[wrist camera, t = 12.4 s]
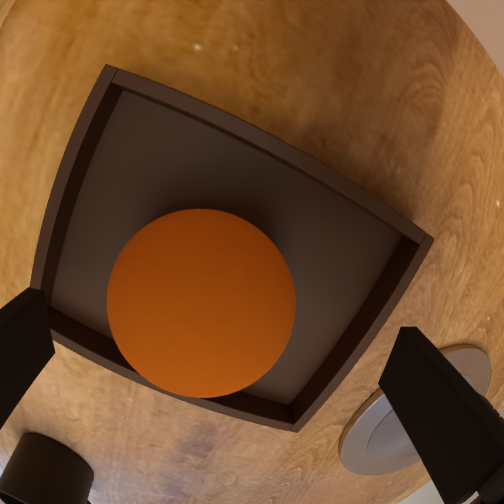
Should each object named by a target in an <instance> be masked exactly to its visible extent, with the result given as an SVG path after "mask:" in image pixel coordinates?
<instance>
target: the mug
mask: <svg viewBox="0 0 504 504" xmlns="http://www.w3.org/2000/svg"><path fill="white" fill-rule="evenodd" d="M92 482H93V473H92V470H91V469H90V467H89V466H88V465H87V464H86V463H85V462H84V461H83V460H82V459H81V458H80V457H79V456H77V455H76V454H75V453H73V452H72V451H70V450H69V449H68V448H66V447H64V446H63V445H61V444H59V443H57V442H56V441H53V440H51V439H49V438H47V437H44V436H41V435H38V434H33V433H29V434H25V435H24V436H22V437H21V439H20V441H19V443H18V445H17V446H16V448H15V450H14V452H13V454H12V456H11V458H10V460H9V462H8V464H7V465H6V467H5V469H4V471H3V473H2V475H1V478H0V499H1V500H2V501H3V502H4V503H5V504H91V503H90V502H89V501H88V500H87V499H88V496H89V492H90V489H91V486H92Z"/></svg>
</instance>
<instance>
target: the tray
mask: <svg viewBox="0 0 504 504" xmlns="http://www.w3.org/2000/svg"><path fill="white" fill-rule="evenodd" d="M188 209H213V210H218V211H224V212H227V213H230V214H233V215H236V216H238V217H240V218H242V219H244V220H246V221H248V222H249V223H251V224H252V225H254V226H255V227H257V228H258V229H259V230H261V231H262V232H263V233H264V234H265V235H266V236H267V237H268V238H269V239H270V240H271V241H272V242H273V243H274V244H275V246H276V247H277V249H278V250H279V252H280V253H281V255H282V256H283V258H284V260H285V262H286V264H287V266H288V268H289V270H290V273H291V276H292V280H293V284H294V290H295V297H296V312H295V320H294V325H293V329H292V332H291V336H290V339H289V341H288V343H287V345H286V347H285V349H284V351H283V352H282V354H281V356H280V357H279V359H278V360H277V362H276V363H275V364H274V365H273V366H272V367H271V369H270V370H269V371H267V372H266V373H265V374H264V375H263V376H262V377H261V378H259V379H258V380H257V381H255V382H254V383H252V384H251V385H249V386H247V387H245V388H243V389H241V390H239V391H236V392H233V393H230V394H227V395H223V396H218V397H210V398H195V397H188V396H182V395H178V394H174V393H172V392H169V391H166V390H164V389H162V388H160V387H157V386H156V385H154V384H152V383H151V382H149V381H148V380H147V379H145V378H144V377H143V376H141V375H140V374H139V373H138V372H137V371H136V370H135V369H134V368H133V367H132V366H131V365H130V364H129V363H128V361H127V360H126V359H125V357H124V356H123V355H122V353H121V352H120V350H119V348H118V346H117V344H116V342H115V340H114V337H113V335H112V332H111V329H110V325H109V321H108V315H107V289H108V283H109V279H110V275H111V272H112V269H113V267H114V264H115V262H116V260H117V258H118V256H119V254H120V253H121V251H122V250H123V248H124V247H125V245H126V244H127V243H128V242H129V241H130V240H131V238H132V237H133V236H134V235H135V234H136V233H137V232H138V231H140V230H141V229H142V228H143V227H145V226H146V225H148V224H149V223H151V222H153V221H155V220H156V219H158V218H160V217H162V216H165V215H167V214H170V213H173V212H177V211H181V210H188ZM433 242H434V238H433V237H431V236H430V235H429V234H427V233H426V232H425V231H424V230H422V229H421V228H420V227H418V226H417V225H415V224H414V223H413V222H411V221H410V220H409V219H407V218H406V217H405V216H403V215H402V214H400V213H399V212H397V211H396V210H395V209H393V208H392V207H390V206H389V205H387V204H386V203H385V202H383V201H382V200H380V199H379V198H377V197H376V196H374V195H373V194H371V193H370V192H368V191H367V190H365V189H364V188H362V187H361V186H359V185H357V184H356V183H354V182H353V181H351V180H350V179H348V178H346V177H345V176H343V175H342V174H340V173H338V172H337V171H335V170H334V169H332V168H330V167H329V166H327V165H325V164H324V163H322V162H320V161H319V160H317V159H315V158H313V157H312V156H310V155H308V154H306V153H305V152H303V151H301V150H299V149H298V148H296V147H294V146H292V145H290V144H289V143H287V142H285V141H283V140H281V139H279V138H278V137H276V136H274V135H272V134H270V133H268V132H266V131H264V130H262V129H260V128H258V127H256V126H254V125H252V124H250V123H248V122H246V121H244V120H242V119H240V118H238V117H236V116H234V115H232V114H230V113H228V112H226V111H224V110H221V109H219V108H217V107H215V106H213V105H211V104H208V103H206V102H204V101H202V100H199V99H197V98H195V97H192V96H190V95H188V94H185V93H183V92H181V91H178V90H176V89H173V88H171V87H168V86H166V85H163V84H161V83H158V82H155V81H153V80H150V79H148V78H145V77H142V76H139V75H137V74H134V73H131V72H128V71H125V70H122V69H119V68H117V67H114V66H111V65H108V64H106V65H105V66H104V68H103V70H102V72H101V73H100V75H99V77H98V79H97V81H96V83H95V85H94V87H93V89H92V91H91V93H90V95H89V97H88V99H87V101H86V103H85V105H84V107H83V109H82V112H81V114H80V116H79V118H78V120H77V123H76V125H75V127H74V130H73V132H72V135H71V137H70V140H69V142H68V145H67V147H66V150H65V152H64V155H63V158H62V161H61V163H60V166H59V169H58V172H57V175H56V178H55V181H54V184H53V187H52V190H51V194H50V197H49V200H48V204H47V208H46V211H45V215H44V219H43V223H42V227H41V231H40V235H39V239H38V244H37V249H36V253H35V259H34V264H33V269H32V275H31V282H30V288H35V289H39V290H44V296H45V303H46V309H47V315H48V320H49V325H50V330H51V335H52V340H54V341H56V342H58V343H59V344H61V345H63V346H65V347H66V348H68V349H70V350H72V351H74V352H75V353H77V354H79V355H81V356H83V357H85V358H87V359H89V360H91V361H93V362H95V363H96V364H98V365H101V366H103V367H105V368H107V369H109V370H111V371H113V372H115V373H117V374H119V375H121V376H124V377H126V378H128V379H130V380H133V381H135V382H137V383H139V384H142V385H144V386H147V387H149V388H151V389H154V390H156V391H159V392H161V393H164V394H166V395H169V396H172V397H174V398H177V399H180V400H182V401H185V402H188V403H191V404H194V405H197V406H200V407H203V408H206V409H209V410H212V411H215V412H218V413H221V414H225V415H228V416H231V417H235V418H238V419H242V420H245V421H249V422H253V423H257V424H261V425H265V426H269V427H273V428H277V429H282V430H286V431H288V430H289V431H291V432H296V433H298V432H299V431H300V430H301V429H302V428H303V427H304V425H305V424H306V423H307V422H308V421H309V420H310V419H311V418H312V417H313V415H314V414H315V413H316V412H317V411H318V410H319V409H320V407H321V406H322V405H323V404H324V403H325V402H326V400H327V399H328V398H329V397H330V396H331V395H332V393H333V392H334V391H335V390H336V388H337V387H338V386H339V385H340V384H341V382H342V381H343V380H344V379H345V377H346V376H347V375H348V373H349V372H350V371H351V370H352V368H353V367H354V366H355V364H356V363H357V362H358V360H359V359H360V358H361V356H362V355H363V354H364V352H365V351H366V350H367V348H368V347H369V345H370V344H371V343H372V341H373V340H374V338H375V337H376V335H377V334H378V333H379V331H380V330H381V328H382V327H383V325H384V324H385V322H386V321H387V319H388V318H389V316H390V315H391V313H392V312H393V310H394V309H395V307H396V305H397V304H398V302H399V301H400V299H401V298H402V296H403V294H404V293H405V291H406V289H407V288H408V286H409V284H410V283H411V281H412V279H413V278H414V276H415V274H416V273H417V271H418V269H419V267H420V266H421V264H422V262H423V260H424V258H425V257H426V255H427V253H428V251H429V249H430V247H431V245H432V243H433Z"/></svg>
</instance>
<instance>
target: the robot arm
mask: <svg viewBox="0 0 504 504" xmlns="http://www.w3.org/2000/svg"><path fill="white" fill-rule="evenodd" d="M54 354H55V349H54V344H53V340H52V335H51V330H50V325H49V320H48V315H47V309H46V303H45V296H44V290H39V289H35V288H30V287H28V288H27V289H25V290H24V291H23V292H22V293H20V294H19V295H18V296H16V297H15V298H14V299H12V300H11V301H10V302H9V303H7V304H6V305H5V306H4V307H2V308H1V309H0V430H1V428H2V426H3V425H4V423H5V422H6V420H7V419H8V417H9V416H10V414H11V413H12V411H13V410H14V408H15V407H16V405H17V404H18V403H19V401H20V400H21V398H22V397H23V395H24V394H25V393H26V391H27V390H28V388H29V387H30V386H31V384H32V383H33V382H34V380H35V379H36V377H37V376H38V375H39V373H40V372H41V371H42V369H43V368H44V367H45V365H46V364H47V363H48V361H49V360H50V359H51V358H52V356H53V355H54ZM378 384H379V386H380V388H381V389H382V391H383V393H384V394H385V396H386V398H387V400H388V401H389V403H390V405H391V407H392V408H393V410H394V412H395V413H396V415H397V417H398V419H399V420H400V422H401V424H402V426H403V428H404V429H405V431H406V433H407V435H408V436H409V438H410V440H411V442H412V444H413V445H414V447H415V449H416V451H417V453H418V455H419V456H420V458H421V460H422V462H423V464H424V466H425V467H426V469H427V471H428V473H429V475H430V477H431V479H432V481H433V482H434V484H435V486H436V488H437V490H438V492H439V494H440V496H441V498H442V500H443V502H444V504H461V503H463V502H465V501H466V500H467V499H468V498H470V497H471V496H472V495H473V494H474V493H475V492H476V491H477V492H478V494H479V496H478V497H477V498H476V499H474V500H473V501H472V502H471V503H470V504H504V419H503V418H502V417H500V414H499V413H498V412H497V411H496V409H493V406H492V405H491V404H490V402H489V401H488V400H487V399H486V398H485V397H484V396H482V395H481V394H479V393H478V392H476V391H475V390H474V388H473V387H472V386H471V385H470V384H469V383H468V382H467V381H466V379H465V378H464V377H463V376H462V375H461V374H460V373H459V372H458V371H457V369H456V368H455V367H454V366H453V365H452V364H451V363H450V362H449V361H448V360H447V359H446V357H445V356H444V355H443V354H442V353H441V352H440V351H439V350H438V349H437V348H436V347H435V346H434V345H433V344H432V343H431V342H430V340H429V339H428V338H427V337H426V336H425V335H424V334H423V333H422V332H421V331H420V330H419V329H418V328H417V327H400V330H399V333H398V336H397V338H396V341H395V344H394V346H393V349H392V351H391V354H390V356H389V359H388V361H387V364H386V366H385V368H384V371H383V373H382V375H381V378H380V380H379V382H378Z"/></svg>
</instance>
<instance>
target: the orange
mask: <svg viewBox="0 0 504 504" xmlns="http://www.w3.org/2000/svg"><path fill="white" fill-rule="evenodd" d="M295 312H296V297H295V290H294V284H293V280H292V276H291V273H290V270H289V268H288V266H287V264H286V262H285V260H284V258H283V256H282V255H281V253H280V252H279V250H278V249H277V247H276V246H275V244H274V243H273V242H272V241H271V240H270V239H269V238H268V237H267V236H266V235H265V234H264V233H263V232H262V231H261V230H259V229H258V228H257V227H255V226H254V225H252V224H251V223H249V222H248V221H246V220H244V219H242V218H240V217H238V216H236V215H233V214H230V213H227V212H224V211H218V210H213V209H188V210H181V211H177V212H173V213H170V214H167V215H165V216H162V217H160V218H158V219H156V220H155V221H153V222H151V223H149V224H148V225H146V226H145V227H143V228H142V229H141V230H140V231H138V232H137V233H136V234H135V235H134V236H133V237H132V238H131V240H130V241H129V242H128V243H127V244H126V245H125V247H124V248H123V250H122V251H121V253H120V254H119V256H118V258H117V260H116V262H115V264H114V267H113V269H112V272H111V275H110V279H109V283H108V289H107V315H108V321H109V325H110V329H111V332H112V335H113V337H114V340H115V342H116V344H117V346H118V348H119V350H120V352H121V353H122V355H123V356H124V357H125V359H126V360H127V361H128V363H129V364H130V365H131V366H132V367H133V368H134V369H135V370H136V371H137V372H138V373H139V374H140V375H141V376H143V377H144V378H145V379H147V380H148V381H149V382H151V383H152V384H154V385H156V386H157V387H160V388H162V389H164V390H166V391H169V392H172V393H174V394H178V395H182V396H188V397H195V398H210V397H218V396H223V395H227V394H230V393H233V392H236V391H239V390H241V389H243V388H245V387H247V386H249V385H251V384H252V383H254V382H255V381H257V380H258V379H259V378H261V377H262V376H263V375H264V374H265V373H266V372H267V371H269V370H270V369H271V367H272V366H273V365H274V364H275V363H276V362H277V360H278V359H279V357H280V356H281V354H282V352H283V351H284V349H285V347H286V345H287V343H288V341H289V339H290V336H291V332H292V329H293V325H294V320H295Z"/></svg>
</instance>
